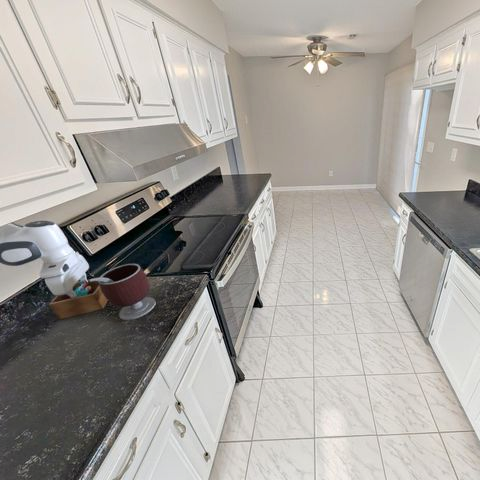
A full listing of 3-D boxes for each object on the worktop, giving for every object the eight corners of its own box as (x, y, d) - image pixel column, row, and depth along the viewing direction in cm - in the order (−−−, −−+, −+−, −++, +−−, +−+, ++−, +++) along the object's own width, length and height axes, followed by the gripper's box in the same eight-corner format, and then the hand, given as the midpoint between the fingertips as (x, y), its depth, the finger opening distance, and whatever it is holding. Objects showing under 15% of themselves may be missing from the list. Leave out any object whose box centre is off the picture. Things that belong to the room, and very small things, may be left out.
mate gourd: (144, 293, 109) (125, 254, 100) (165, 302, 103) (146, 260, 94) (105, 318, 97) (78, 275, 87) (125, 329, 91) (100, 284, 82)
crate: (59, 319, 98) (48, 304, 94) (75, 298, 109) (66, 284, 106) (103, 308, 102) (94, 294, 98) (114, 289, 113) (107, 275, 110)
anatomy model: (75, 278, 104) (59, 288, 98) (94, 280, 104) (78, 290, 98) (80, 288, 107) (64, 298, 101) (98, 290, 106) (83, 300, 100)
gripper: (65, 250, 104) (82, 278, 110) (35, 277, 87) (57, 308, 93) (84, 247, 106) (99, 274, 112) (58, 273, 88) (78, 303, 95)
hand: (80, 290), depth 102 cm, fingers closed on anatomy model, 7 cm apart
